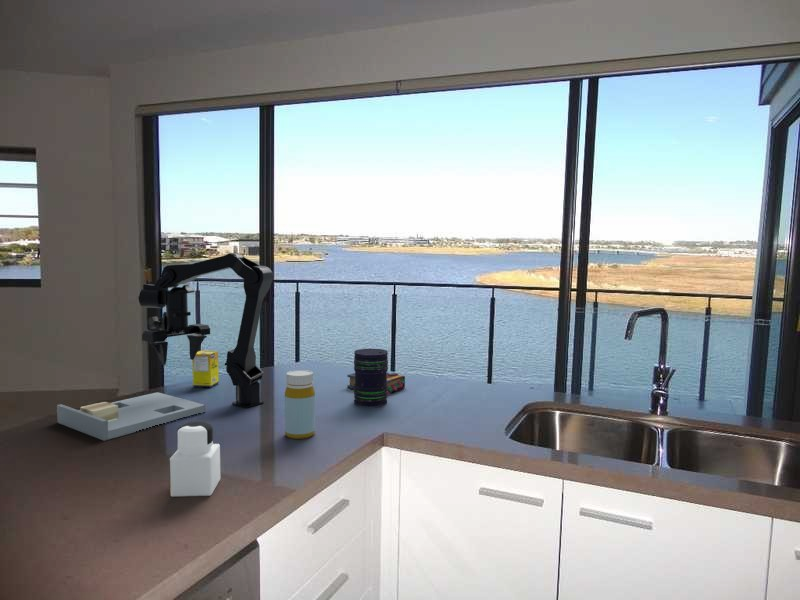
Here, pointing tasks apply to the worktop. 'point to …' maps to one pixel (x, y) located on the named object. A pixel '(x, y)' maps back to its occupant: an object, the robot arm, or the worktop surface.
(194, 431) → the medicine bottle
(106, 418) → the beech block
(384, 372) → the storage jar
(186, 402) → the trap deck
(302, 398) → the bottle
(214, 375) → the supplement box
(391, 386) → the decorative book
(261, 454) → the worktop surface
